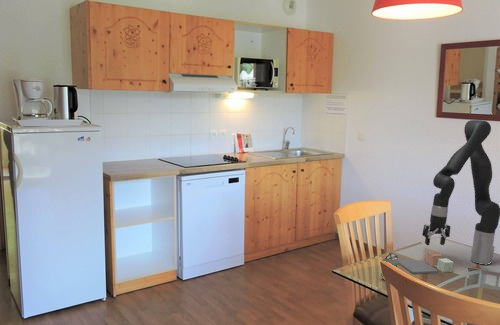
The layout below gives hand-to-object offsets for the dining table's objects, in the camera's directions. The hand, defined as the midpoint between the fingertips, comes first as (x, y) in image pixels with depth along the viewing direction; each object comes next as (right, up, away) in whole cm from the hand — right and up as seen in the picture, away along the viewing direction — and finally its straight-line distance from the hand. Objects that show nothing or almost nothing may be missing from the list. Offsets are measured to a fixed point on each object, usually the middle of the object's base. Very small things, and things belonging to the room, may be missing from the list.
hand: (434, 244), depth 224 cm
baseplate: (-12, -10, -7) cm, 17 cm away
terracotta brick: (0, -10, +1) cm, 10 cm away
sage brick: (+2, -11, -7) cm, 13 cm away
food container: (-29, -12, -20) cm, 37 cm away
